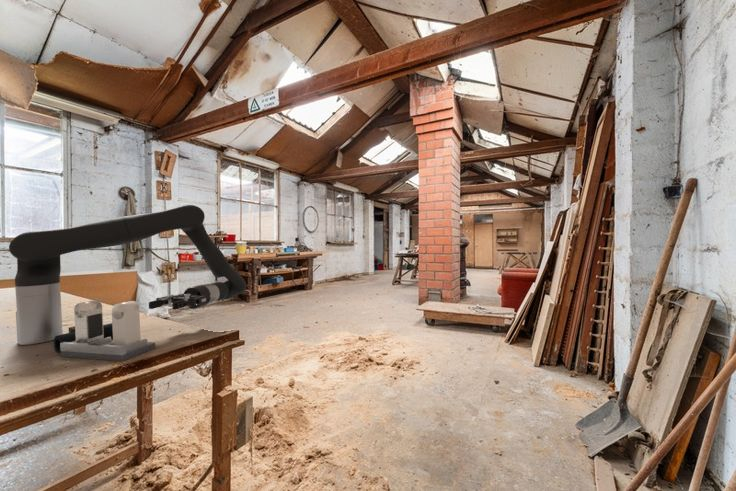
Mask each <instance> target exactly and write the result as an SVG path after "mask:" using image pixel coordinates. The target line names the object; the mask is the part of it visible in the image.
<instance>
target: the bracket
mask: <svg viewBox="0 0 736 491" xmlns="http://www.w3.org/2000/svg"><path fill="white" fill-rule="evenodd" d="M73 311H74V312H73V313H74V326H75V335H76V341H73V342H63V343H60V349H61V354H60V357H63V358H75V359H88V360H90V359H91V360H99V361H101V360H102V361H103V360H104V361H113V362H115V361H116V362H124V361H127V360H130V359H132V358H134V357H137V356H140V355H142V354H144V353H148V352H149V351H152V350H153V349H156V342H151V341H148V338H143V339H141V340H140V341H137V342H134V343H131V344H129V345H126V346H121V345H113V340H111V337H107V338H104V332H103V325H104V317H103V305H102V303H101V301H99V300H98V299H94V300H89V301H84V302H79V303H76V305H75V306H74V309H73Z"/></svg>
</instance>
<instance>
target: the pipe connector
mask: <svg viewBox="0 0 736 491" xmlns="http://www.w3.org/2000/svg"><path fill="white" fill-rule="evenodd" d="M103 332H104V338H107V337H111V340H113V327H112V322H111V323H106V324H103ZM73 341H76V335H75V325H74V326H70V327H68V332H67V333H66V332H65V333H63V334H62V335H57V336H55V338H54V340H53V348H54V351H55V353H57V354H60V355H61V349H60V343H63V342H73Z"/></svg>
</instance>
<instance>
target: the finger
mask: <svg viewBox="0 0 736 491" xmlns="http://www.w3.org/2000/svg"><path fill="white" fill-rule="evenodd" d="M140 319H141V318H140V306H139V304H138V303H137V301H135V300H130V301H125V302H120V303H116V304H114V305H113V306H112V307H111V323H112V327H113V345H121V346H126V345H129V344H131V343H134V342H137V341H140V340H142V339H141V338H142V337H141V320H140Z"/></svg>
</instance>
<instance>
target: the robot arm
mask: <svg viewBox="0 0 736 491" xmlns="http://www.w3.org/2000/svg"><path fill="white" fill-rule="evenodd" d="M204 221H205V212H204V211H203V209H202V208H201V207H199V206H197V205H193V204H184V205H181V206H178V207H174V208H170V209H166V210H161V211H156V212H149V213H147V212H146V213H141V214H134V215H133V214H132V215H126V216H125V215H124V216H119V217H118V216H117V217H112V218H107V219H102V220H97V221H94V222H89V223H85V224H82V225H78V226H74V227H67V228H60V229H51V230H40V231H26V232H22V233H21V234H19V235H17V236H15V237H14V238H12V240H11V241H10V243H9V246H8V250H9V253H10V254H11V255H12V256H13V257H14V258H16V262H17V263H16V264H17V265H16V266H17V270H16V274H15V277H14V287H15V304H16V312H15V322H16V324H15V325H16V339H17V340H16V341H17V343H18V345H20V346H23V345H24V346H26V345H36V344H41V343H46V342H51V341H54V338H55V336H57V335H62V334H64V331H63V314H62V313H63V312H62V297H61V296H62V295H61V279H60V278H61V270H62V266H61V255H66V254H69V253H73V252H78V251H83V250H92V249H102V248H109V247H116V246H122V245H127V244H130V243H131V244H132V243H135V242H139V241H143V240H145V239H149V238H151V237H153V236H156V235H158V234H161V233H164V232H168V231H174V230H182V232H183V233H184V234H185V235H186V236H187V237H188V238H189V239H190V241H191V242H192V244H193V245H194V247H196V250H198V252H199V253H200V255H201V257H202V259H203V260H204V262H205V264H206V265H207V267H208V268H209V270H210V272H211V274H212V275H213V276H214V277H215V278H216V279H217V278H225V279H226V281H216V282H212V283H211V282H210V283H204V284H203V283H202V284H199V285H194V286H190V287H189V286H188V287H187V288H186V289H185V290H184V292H183V293H178V294H170V295H165V296H161V297H157V298H155V300H152V301H151V300H150V301H149V302H148V309H149V310H153V309H158V308H163V307H169V308H172V310H175V311H176V310H180V309H182V308H186V309H187V308H189V309H191V310H192V309H193V310H195V309H199V308H202V307H205V306H209V305H212V304H213V303H216V302H219V301H224V300H226V301H227V300H229V299H232V298H234V297H236V296H238V295H240V294H242V293H244V292H245V291H246V289H247V282H246V280H245V279H244V278H243V276H242V275H241V274H240V273H238V271H236V269H234V267H232V266H231V265H230V263H229V261H228V259H227V258H226V256H225V255H224V254H223V252H222V250H221V249H220V248H219V247H218V245H216V244H215V243H214V241H213V240H212V238H211V237H210V236H209V234H208V232H207V230H206V229H205V226H204Z"/></svg>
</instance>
